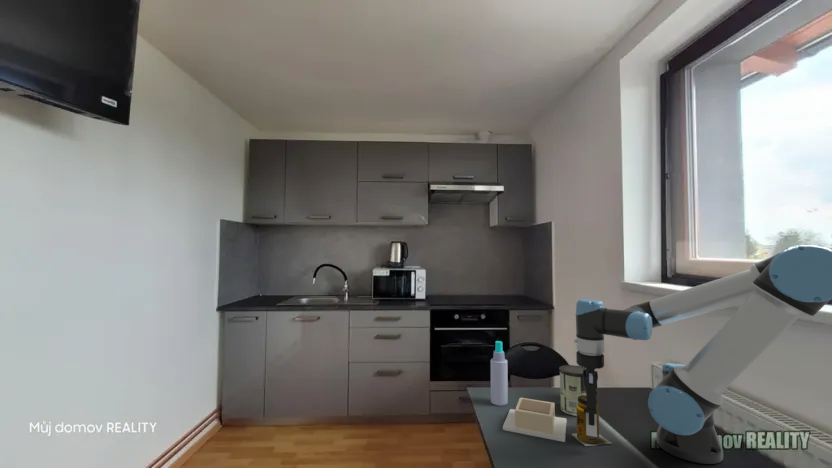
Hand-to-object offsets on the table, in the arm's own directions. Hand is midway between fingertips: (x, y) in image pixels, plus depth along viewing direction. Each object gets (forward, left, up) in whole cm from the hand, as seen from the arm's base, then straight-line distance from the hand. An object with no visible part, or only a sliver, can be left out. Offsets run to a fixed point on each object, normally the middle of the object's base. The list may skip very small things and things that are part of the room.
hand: (590, 425), depth 111 cm
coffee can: (+4, -19, -4) cm, 20 cm away
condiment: (0, 0, -4) cm, 4 cm away
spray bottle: (+30, -15, -4) cm, 34 cm away
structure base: (+16, -2, -4) cm, 17 cm away
